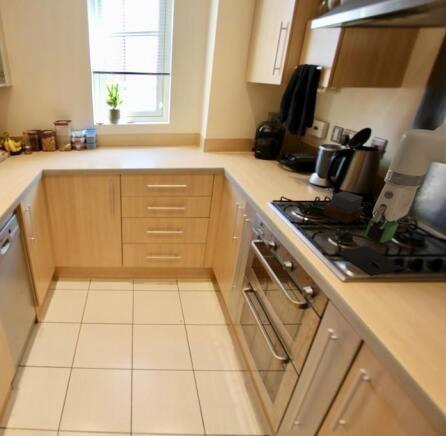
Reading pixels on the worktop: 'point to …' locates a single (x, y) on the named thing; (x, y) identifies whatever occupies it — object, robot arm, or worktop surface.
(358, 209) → the base block
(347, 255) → the mat
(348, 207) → the middle block
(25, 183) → the worktop surface
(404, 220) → the salt shaker
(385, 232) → the green cube
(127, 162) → the worktop surface
